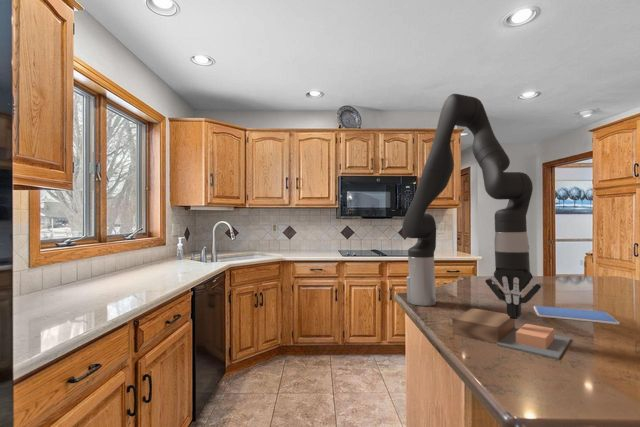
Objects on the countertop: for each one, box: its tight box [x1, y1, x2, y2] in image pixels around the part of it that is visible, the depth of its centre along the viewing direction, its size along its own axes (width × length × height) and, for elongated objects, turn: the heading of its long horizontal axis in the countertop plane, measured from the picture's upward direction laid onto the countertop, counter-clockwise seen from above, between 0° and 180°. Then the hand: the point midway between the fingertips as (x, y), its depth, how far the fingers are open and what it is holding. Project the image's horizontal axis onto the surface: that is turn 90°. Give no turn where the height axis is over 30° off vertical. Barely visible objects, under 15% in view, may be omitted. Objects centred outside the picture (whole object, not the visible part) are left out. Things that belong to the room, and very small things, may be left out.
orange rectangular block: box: [516, 323, 555, 349], centre depth 78 cm, size 6×9×2 cm, turn 134°
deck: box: [452, 307, 516, 345], centre depth 86 cm, size 11×14×4 cm
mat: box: [496, 327, 572, 360], centre depth 78 cm, size 12×16×1 cm
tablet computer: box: [533, 305, 621, 326], centre depth 99 cm, size 19×13×1 cm, turn 62°
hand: (514, 318), depth 81 cm, fingers closed
